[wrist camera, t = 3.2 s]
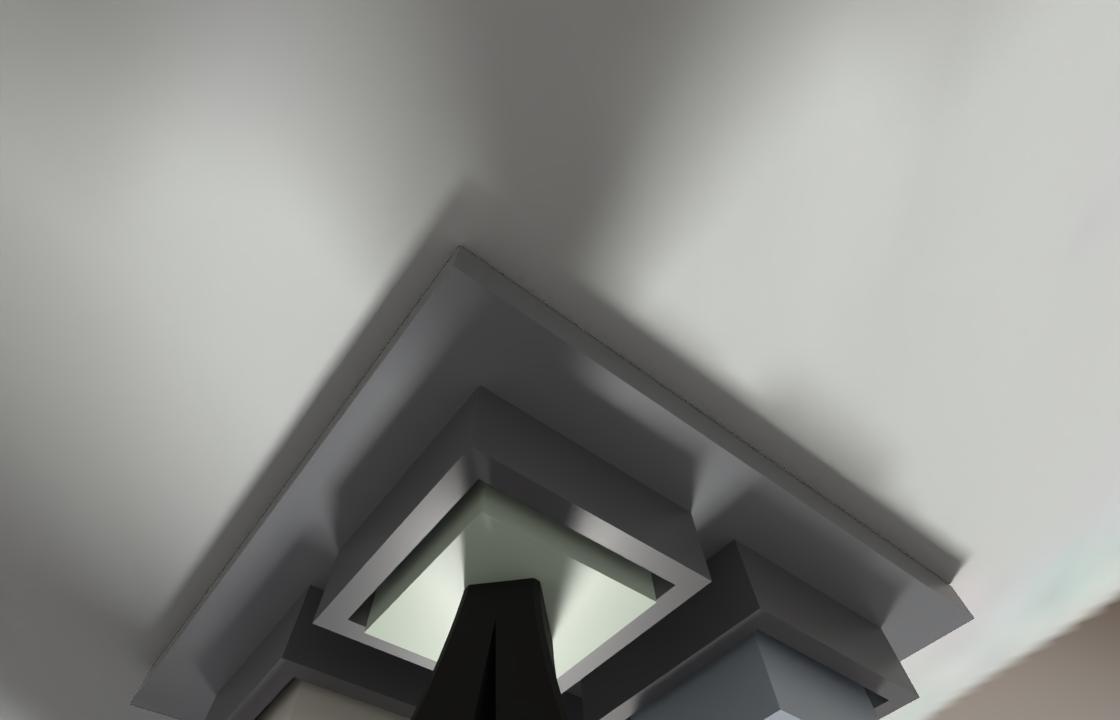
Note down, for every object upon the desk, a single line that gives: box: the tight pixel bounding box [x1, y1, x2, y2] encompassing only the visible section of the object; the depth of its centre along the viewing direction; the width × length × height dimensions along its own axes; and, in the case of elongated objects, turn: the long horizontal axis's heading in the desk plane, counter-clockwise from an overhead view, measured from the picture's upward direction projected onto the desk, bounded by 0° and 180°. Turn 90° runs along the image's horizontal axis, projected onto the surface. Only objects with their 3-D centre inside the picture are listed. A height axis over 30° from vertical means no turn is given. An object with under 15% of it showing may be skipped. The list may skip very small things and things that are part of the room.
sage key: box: [364, 479, 657, 678], centre depth 12 cm, size 4×4×2 cm
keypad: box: [130, 245, 974, 720], centre depth 15 cm, size 16×16×3 cm
